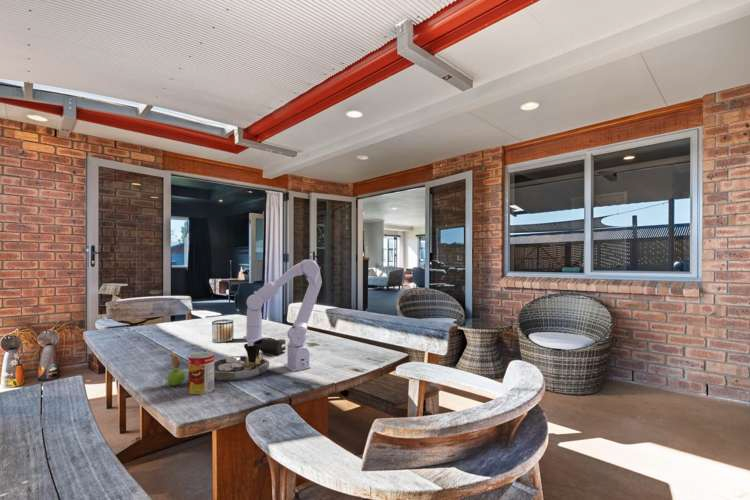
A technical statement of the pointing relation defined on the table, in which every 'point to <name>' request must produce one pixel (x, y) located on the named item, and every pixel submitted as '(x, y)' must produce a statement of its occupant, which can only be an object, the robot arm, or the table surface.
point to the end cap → (273, 346)
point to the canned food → (201, 372)
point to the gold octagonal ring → (256, 363)
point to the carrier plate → (237, 369)
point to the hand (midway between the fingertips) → (253, 360)
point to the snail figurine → (175, 371)
